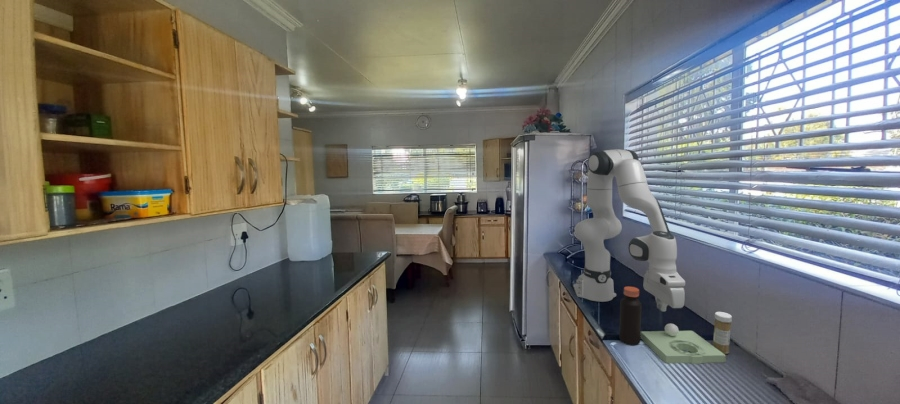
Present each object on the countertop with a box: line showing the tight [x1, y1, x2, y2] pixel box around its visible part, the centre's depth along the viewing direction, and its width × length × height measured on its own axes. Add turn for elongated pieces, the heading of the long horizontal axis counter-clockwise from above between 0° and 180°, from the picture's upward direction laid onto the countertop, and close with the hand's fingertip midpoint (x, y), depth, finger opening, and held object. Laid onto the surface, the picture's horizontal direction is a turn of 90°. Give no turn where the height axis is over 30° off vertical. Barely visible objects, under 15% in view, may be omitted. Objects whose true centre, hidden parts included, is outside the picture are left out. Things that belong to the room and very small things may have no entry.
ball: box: [664, 323, 680, 336], centre depth 123 cm, size 4×4×4 cm
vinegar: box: [618, 286, 643, 346], centre depth 124 cm, size 7×7×20 cm
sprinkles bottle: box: [712, 311, 733, 355], centre depth 116 cm, size 5×5×14 cm
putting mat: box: [640, 330, 727, 365], centre depth 119 cm, size 16×19×2 cm
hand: (661, 309), depth 130 cm, fingers closed
